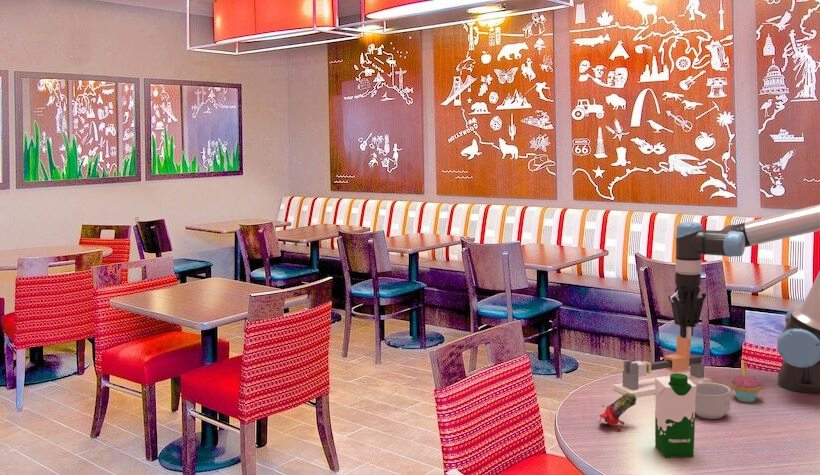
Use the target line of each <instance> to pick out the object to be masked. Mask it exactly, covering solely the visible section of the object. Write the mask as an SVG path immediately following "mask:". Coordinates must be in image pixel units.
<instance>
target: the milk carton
mask: <svg viewBox="0 0 820 475" xmlns="http://www.w3.org/2000/svg"><path fill="white" fill-rule="evenodd" d="M669 375H670V377H662V376H657V377H658V378H656V377H654V378H655V391H656V394H655V404H654V405H655V408H654V409H655V410H654V412H655V413H654V414H655V416H654V422H655V423H654V425H655V426H654V432H655V433H654V435H655V436H654V437H655V439H654V443H655V444H654V446H655V448H656V449H657V450H658V451H659V452H660V453H661V455H662V456H664V458H665V459H666V458H684V457H685V458H686V457H694V454H695V452H694V451H695V431H696V430H695V428H696V427H695V425H696V424H695V422H696V413H695V396H696V387H697V386H696V385H695V384H694V383H692V382H691V381H690V380H689V379H688V377H687V375H684V374H680V373H671V374H669Z"/></svg>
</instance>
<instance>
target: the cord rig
mask: <svg viewBox="0 0 820 475" xmlns="http://www.w3.org/2000/svg"><path fill="white" fill-rule="evenodd" d="M670 367H672V361H671V360H666V361H665V360H660V361H653V362H648V361H646V360H642V361H641V360H636V361H632V360H631V359H627V360H626V359H625V360H623V371H622V382H621V383H616V384H613V385H612V389H613V390H614V391H616V392H618V393H620V394H622V395H624V394H626V393H633V394H635V395H636V398H639V397H640V398H641V397H646V396H651V395H656V391H655V378H658V377H659V376H657V377H652V378H651V377H650V378H644V379H639V377H645V376H647V374H649V375H651V374H652V371H656V370H665V369H664V368H670ZM679 374H684V375H687V377H688V379H689V380H690V381H691V382H692V383H694V384H696V383H697V382H698V381H703V382H704V383H705V382H706V383H712V379H711V378H708V377H705V363H704V362H703V357H702V356H700V355H692V356H691V355H690V357H689V371H687V372H679ZM670 375H671V374H669V375H662V376H661V377H670Z"/></svg>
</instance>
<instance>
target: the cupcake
mask: <svg viewBox="0 0 820 475" xmlns="http://www.w3.org/2000/svg"><path fill="white" fill-rule="evenodd" d="M743 359H744V358H741V371H742V374H741V375H738V376H736V377H734V378H732V380H731V381H730V383H731V385H730V386H731V388H732V389H733V390H734V393H735V396H736V399H737V400H738V401H740V402H742V403H753V402H754V403H755V401H756V399H757V395H758V394H759V392H761V391H762V390H763V389H764V385H763V382H762V381H761V380H760V379H758V378H757V377H755V376H752V375H751V376H750V375H747V374H746V369H745V361H744V360H743Z"/></svg>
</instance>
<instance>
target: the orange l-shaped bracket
mask: <svg viewBox="0 0 820 475" xmlns="http://www.w3.org/2000/svg"><path fill="white" fill-rule="evenodd" d="M689 357H691V348H690V339H688V338H685V337H681V336H680V335H676V353H672V354H666V355H664V361H666V360H671V361H672V367H670V368H664V369H663V370H667V371H669V372H673V373H676V372H683V371H688V370H689V371H690V364H689Z"/></svg>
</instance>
